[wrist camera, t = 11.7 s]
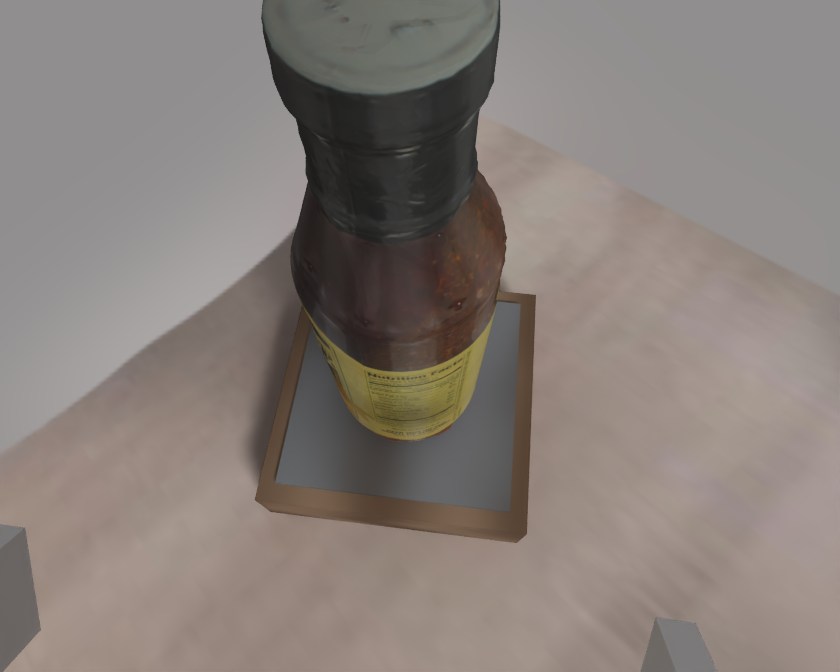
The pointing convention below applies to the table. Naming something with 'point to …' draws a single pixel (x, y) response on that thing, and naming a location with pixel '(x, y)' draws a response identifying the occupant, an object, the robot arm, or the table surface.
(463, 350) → the sauce bottle
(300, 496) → the pedestal
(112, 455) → the table surface
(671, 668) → the robot arm
